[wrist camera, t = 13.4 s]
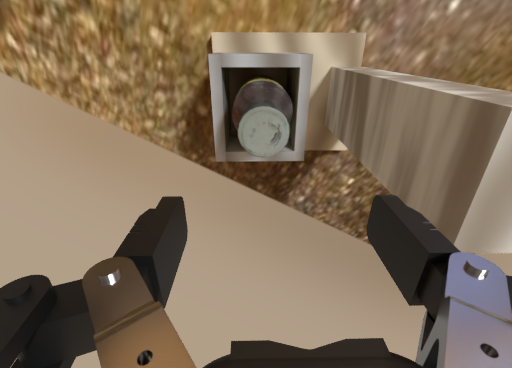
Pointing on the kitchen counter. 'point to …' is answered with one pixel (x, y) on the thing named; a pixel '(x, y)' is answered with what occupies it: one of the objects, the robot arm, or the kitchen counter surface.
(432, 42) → the kitchen counter surface
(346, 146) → the grey holder stand
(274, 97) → the sauce bottle
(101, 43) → the kitchen counter surface
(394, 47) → the kitchen counter surface
